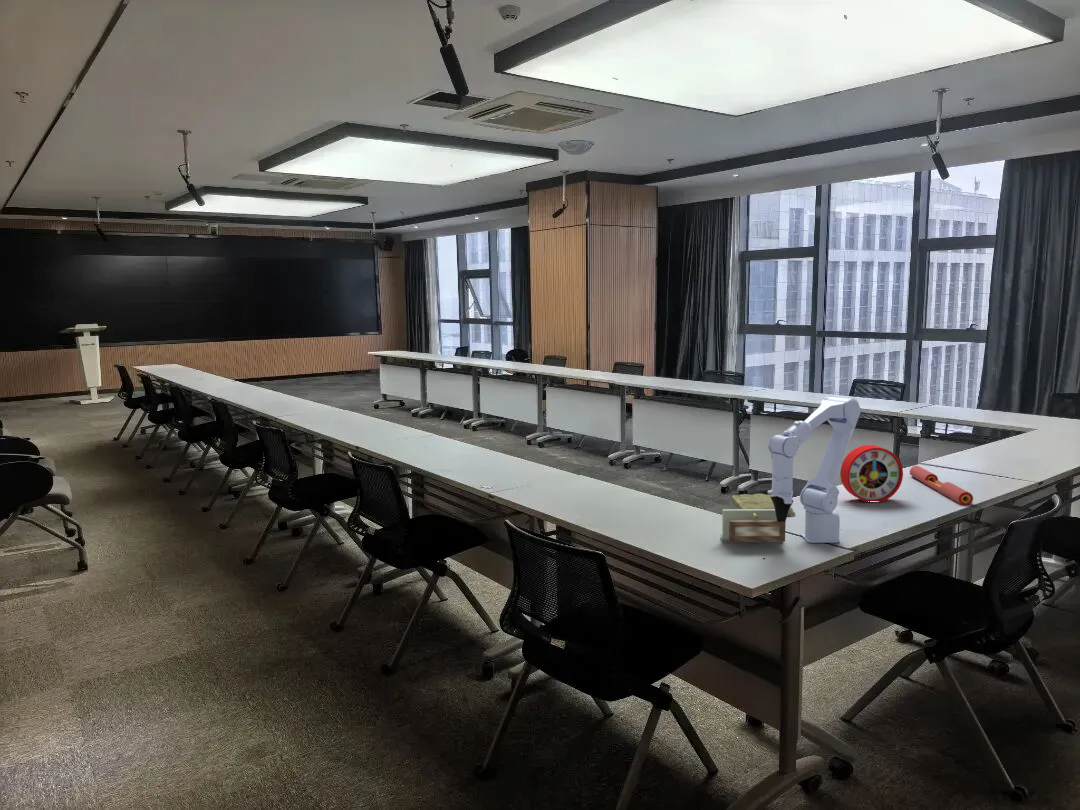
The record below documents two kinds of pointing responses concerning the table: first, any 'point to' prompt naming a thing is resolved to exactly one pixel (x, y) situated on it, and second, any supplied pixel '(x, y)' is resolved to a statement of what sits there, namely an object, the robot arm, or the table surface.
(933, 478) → the blood vessel
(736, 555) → the table surface
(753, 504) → the decorative tile
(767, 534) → the picture frame
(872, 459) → the toy clock
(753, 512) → the curved green slab
